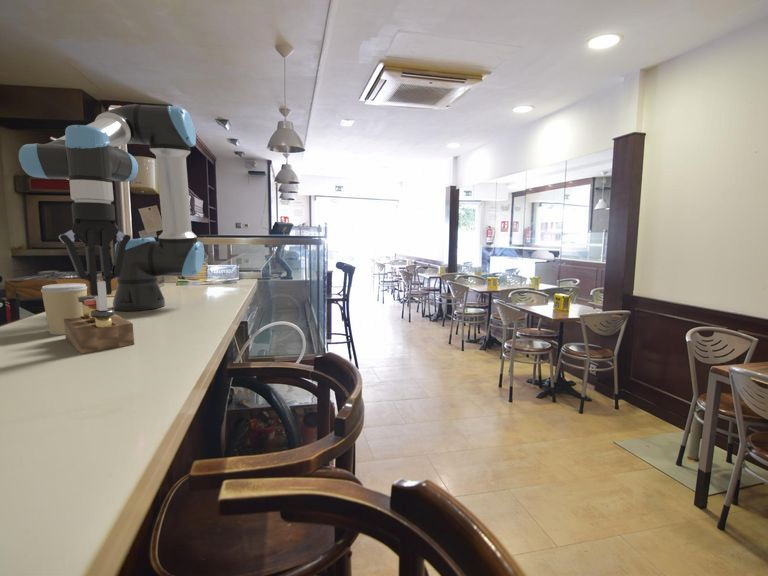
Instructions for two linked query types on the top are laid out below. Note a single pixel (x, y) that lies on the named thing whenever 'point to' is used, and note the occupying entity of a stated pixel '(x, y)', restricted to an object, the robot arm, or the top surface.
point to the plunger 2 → (103, 317)
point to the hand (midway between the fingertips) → (102, 309)
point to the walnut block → (98, 334)
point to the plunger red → (91, 308)
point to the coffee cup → (62, 304)
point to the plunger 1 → (85, 308)
